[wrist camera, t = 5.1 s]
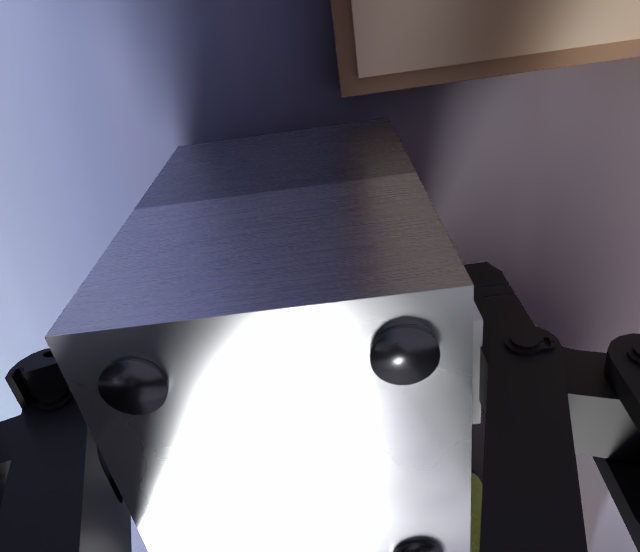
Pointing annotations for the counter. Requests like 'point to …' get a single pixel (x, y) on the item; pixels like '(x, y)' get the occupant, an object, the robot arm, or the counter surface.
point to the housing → (281, 351)
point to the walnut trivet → (474, 39)
